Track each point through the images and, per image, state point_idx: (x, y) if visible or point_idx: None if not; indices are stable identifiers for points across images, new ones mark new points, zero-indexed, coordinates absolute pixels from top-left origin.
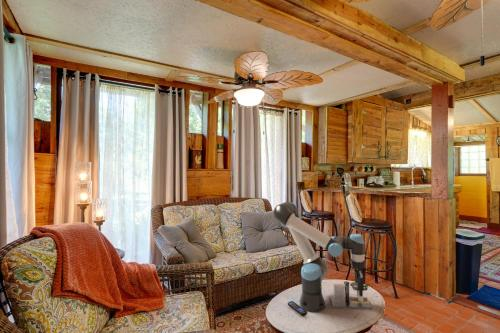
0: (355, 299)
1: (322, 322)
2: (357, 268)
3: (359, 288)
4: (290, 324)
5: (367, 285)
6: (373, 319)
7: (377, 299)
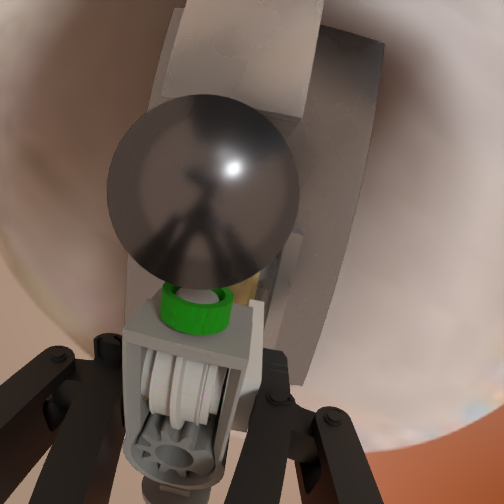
0: (273, 280)
1: None
2: None
3: (31, 363)
4: None
5: (155, 497)
6: (13, 273)
7: None
